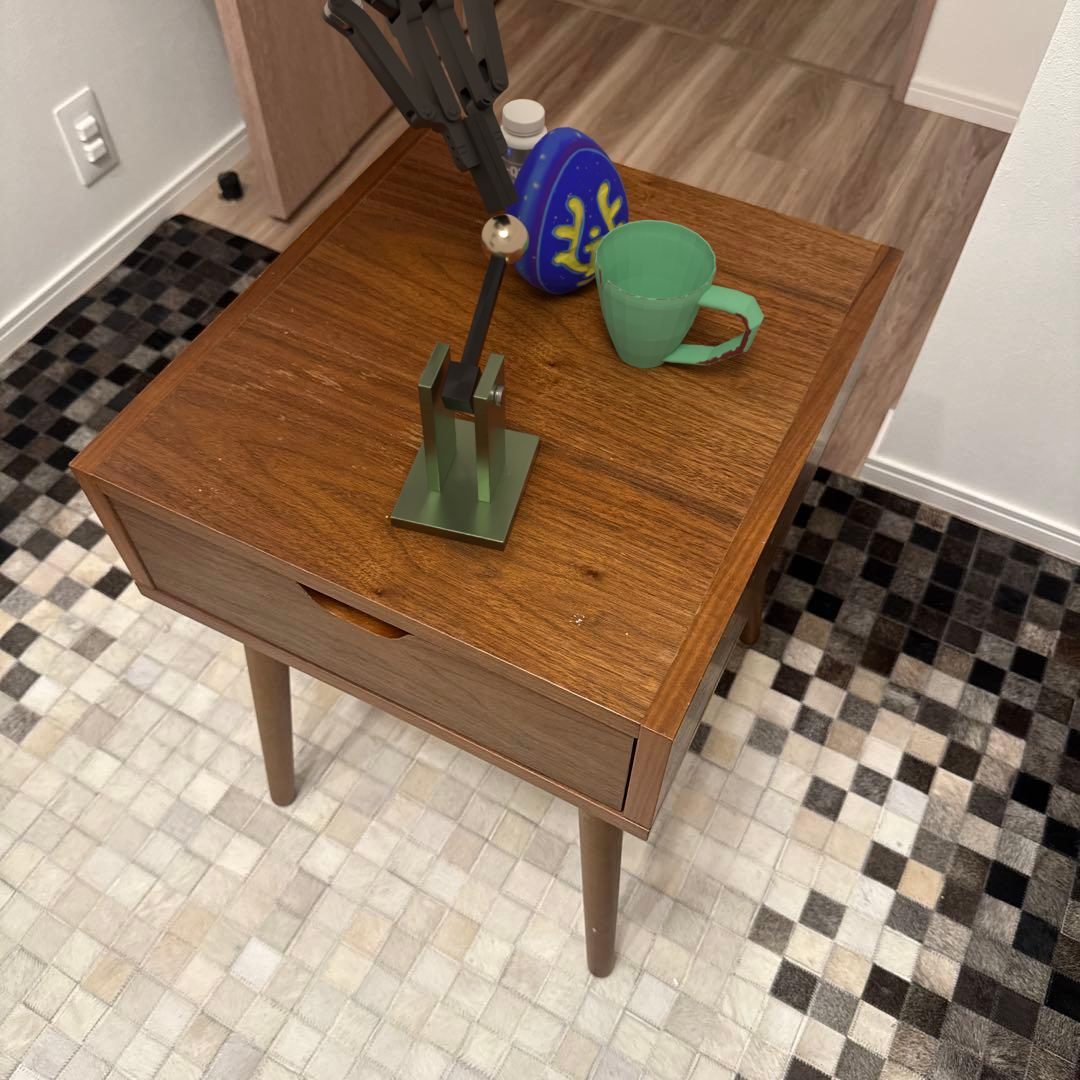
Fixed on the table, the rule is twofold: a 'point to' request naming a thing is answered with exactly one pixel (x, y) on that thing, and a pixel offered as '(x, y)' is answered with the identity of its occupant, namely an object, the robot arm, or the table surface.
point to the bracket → (466, 462)
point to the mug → (664, 294)
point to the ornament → (566, 209)
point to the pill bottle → (521, 132)
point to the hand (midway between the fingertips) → (504, 207)
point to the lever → (484, 308)
